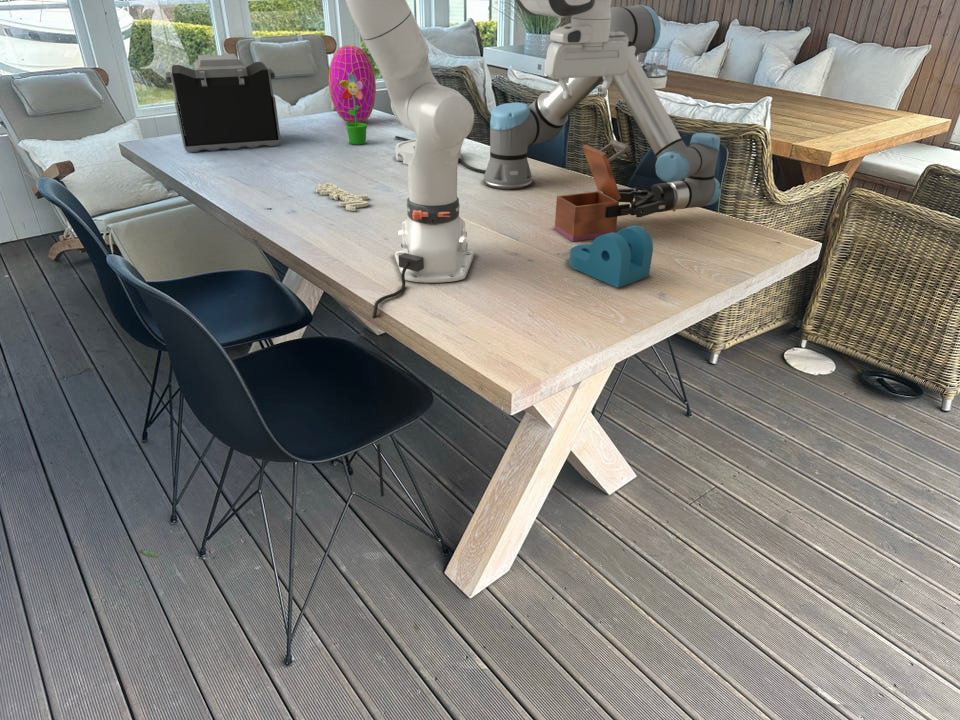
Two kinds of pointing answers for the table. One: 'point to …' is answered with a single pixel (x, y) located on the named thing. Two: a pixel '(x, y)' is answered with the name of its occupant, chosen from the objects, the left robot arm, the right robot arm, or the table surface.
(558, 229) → the chest
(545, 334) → the table surface
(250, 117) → the electronic device
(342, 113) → the decorative egg
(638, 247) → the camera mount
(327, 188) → the decorative sign
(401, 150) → the ashtray
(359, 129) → the potted flower
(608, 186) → the lid
